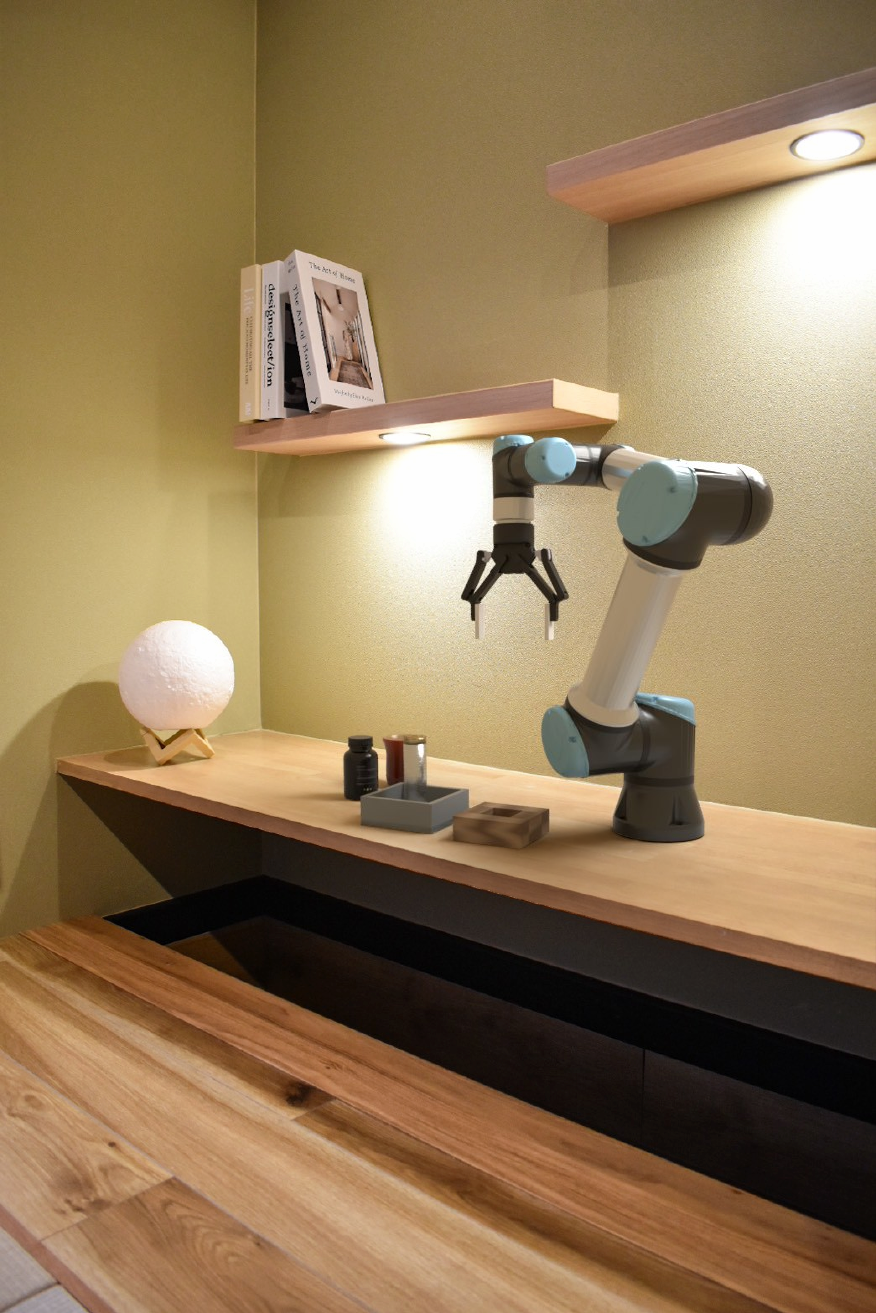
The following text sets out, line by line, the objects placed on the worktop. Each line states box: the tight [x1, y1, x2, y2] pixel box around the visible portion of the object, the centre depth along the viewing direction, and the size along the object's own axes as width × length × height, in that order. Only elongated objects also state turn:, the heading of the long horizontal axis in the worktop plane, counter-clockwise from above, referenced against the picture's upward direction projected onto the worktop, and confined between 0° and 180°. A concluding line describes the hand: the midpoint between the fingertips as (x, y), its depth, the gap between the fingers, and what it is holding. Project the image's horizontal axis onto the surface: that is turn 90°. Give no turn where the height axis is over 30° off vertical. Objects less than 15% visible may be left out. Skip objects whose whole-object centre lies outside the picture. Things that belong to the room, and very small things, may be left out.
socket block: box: [452, 801, 550, 850], centre depth 168 cm, size 12×12×4 cm
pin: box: [403, 734, 428, 802], centre depth 178 cm, size 4×4×14 cm
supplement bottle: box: [342, 734, 379, 802], centre depth 198 cm, size 7×7×12 cm
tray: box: [360, 782, 470, 835], centre depth 179 cm, size 14×14×5 cm
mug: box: [381, 733, 415, 787], centre depth 210 cm, size 12×9×10 cm
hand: (514, 639), depth 186 cm, fingers open, 13 cm apart
